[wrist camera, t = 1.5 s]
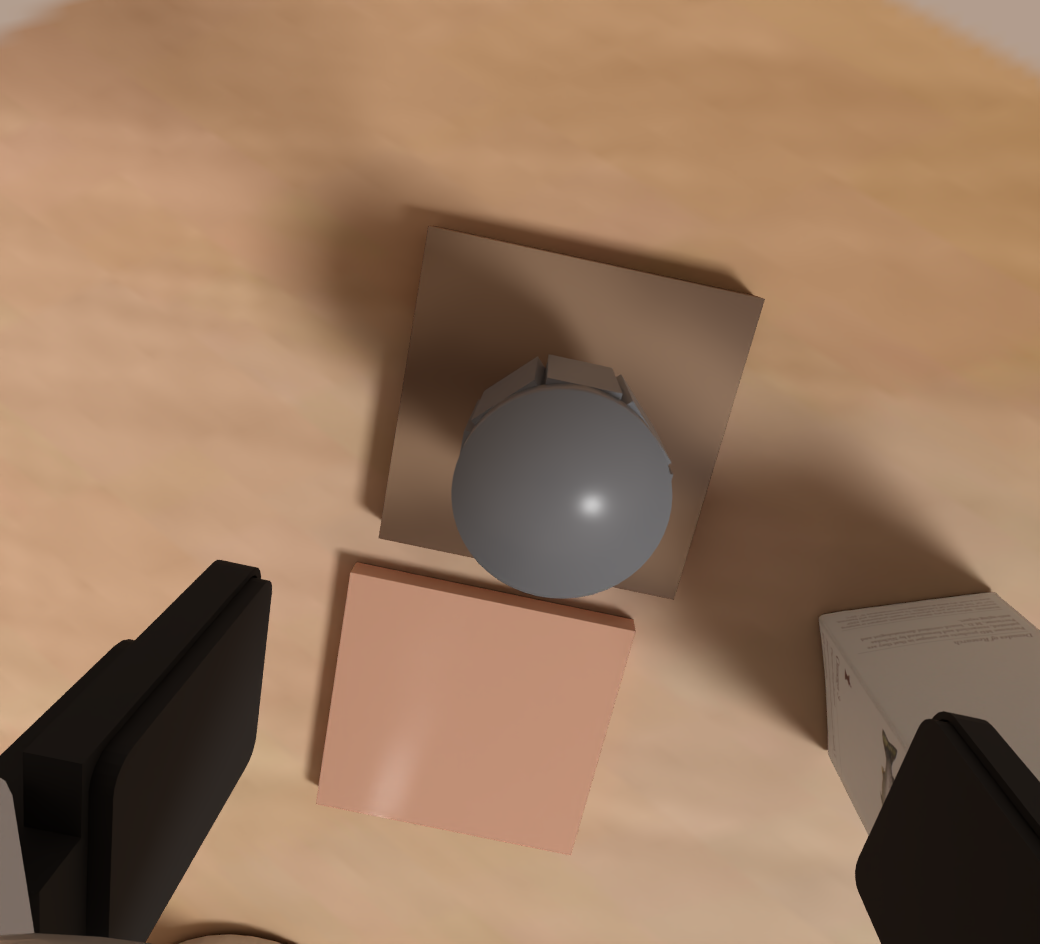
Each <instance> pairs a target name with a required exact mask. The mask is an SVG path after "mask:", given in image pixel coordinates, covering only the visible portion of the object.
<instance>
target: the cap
mask: <svg viewBox="0 0 1040 944" xmlns="http://www.w3.org/2000/svg"><path fill="white" fill-rule="evenodd" d="M669 464H671V460H670V458H669V456H668V454H667V452H666V450H665V448H664V446H663V444H662V442H661V440H660V438H659V436H658V434H657V432H656V430H655V428H654V426H653V425H652V423H651V421H650V420H649V418H648V417H647V415H646V413H645V412H644V410H643V408H642V407H641V405H640V404H639V402H638V400H637V399H636V397H635V396H634V394H633V392H632V391H631V389H630V388H629V386H628V384H627V383H626V381H625V379H624V378H623V376H622V375H621V374H620V375H619V376H617V377H616V376H615V374H614V371H613V369H612V368H611V367H606V366H601V365H597V364H592V363H587V362H583V361H578V360H573V359H569V358H564V357H559V356H555V355H550V354H549V355H548V360H547V364H546V368H545V367H544V365H543V363H542V362H541V360H540V359H539V357H538V356H537V357H536V358H534V359H533V360H531V361H530V362H528V363H527V364H525V365H523V366H522V367H520V368H519V369H517V370H516V371H514V372H513V373H511V374H510V375H508V376H506V377H505V378H503V379H502V380H500V381H499V382H497V383H496V384H494V385H492V386H491V387H489V388H488V389H486V390H485V391H484V392H483V395H482V397H481V399H480V400H478V401H477V403H476V406H475V408H474V410H473V412H472V414H471V417H470V419H469V421H468V423H467V425H466V428H465V430H464V434H463V439H462V444H461V450H460V455H459V458H458V461H457V463H456V467H455V470H454V474H453V480H452V489H451V500H452V509H453V515H454V519H455V522H456V526H457V529H458V531H459V534H460V536H461V538H462V540H463V542H464V544H465V545H466V547H467V549H468V550H469V552H470V553H471V554H472V556H473V557H474V558H475V559H476V561H477V562H478V563H479V564H480V565H481V566H482V567H483V568H484V569H485V570H486V571H488V572H489V573H490V574H491V575H493V576H494V577H495V578H497V579H498V580H500V581H501V582H503V583H505V584H507V585H508V586H510V587H512V588H515V589H517V590H520V591H522V592H525V593H528V594H532V595H536V596H541V597H547V598H577V597H583V596H588V595H592V594H595V593H598V592H601V591H604V590H607V589H609V588H611V587H613V586H615V585H617V584H619V583H621V582H622V581H624V580H625V579H627V578H628V577H630V576H631V575H632V574H633V573H635V572H636V571H637V570H638V569H639V568H641V567H642V565H643V564H644V563H645V562H646V561H647V560H648V559H649V558H650V557H651V555H652V554H653V552H654V551H655V549H656V548H657V547H658V545H659V543H660V541H661V539H662V537H663V535H664V533H665V530H666V527H667V525H668V522H669V517H670V513H671V507H672V482H671V481H672V478H673V473H672V471H671V469H670V467H669Z"/></svg>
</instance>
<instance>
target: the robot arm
mask: <svg viewBox="0 0 1040 944" xmlns="http://www.w3.org/2000/svg"><path fill="white" fill-rule="evenodd" d="M271 595H272V584H271V582H270V581H268V580H263V579H261V573H260V570H259V568H256V567H252V566H247V565H242V564H237V563H232V562H228V561H223V560H216V561H215V562H213V563H212V564H211V565H210V566H209V567H208V568H207V569H206V570H205V571H204V572H203V573H202V574H201V575H200V576H199V577H198V578H197V579H196V580H195V581H194V582H193V583H192V584H191V585H190V586H189V587H188V588H187V589H186V590H185V591H184V592H183V593H182V594H181V595H180V596H179V597H178V598H177V599H176V600H175V601H174V602H173V603H172V604H171V605H170V606H169V607H168V608H167V609H166V610H165V611H164V612H163V613H162V614H161V615H160V616H159V617H158V618H157V619H156V620H155V621H154V622H153V623H152V624H151V625H150V626H149V627H148V628H147V629H146V630H145V631H144V632H143V633H142V634H141V635H140V636H139V637H138V638H137V639H136V640H131V639H128V640H123V641H121V642H120V643H118V644H117V645H115V646H114V647H113V648H112V649H111V650H110V651H109V652H108V653H107V654H106V655H105V656H103V657H102V658H101V659H100V660H99V661H98V662H97V663H96V664H95V665H94V666H93V667H92V668H91V669H90V670H89V671H88V672H87V673H86V674H85V675H84V676H83V677H82V678H81V679H80V680H78V681H77V682H76V683H75V684H74V685H73V686H72V687H71V688H70V689H69V690H68V691H67V692H66V693H65V694H64V695H63V696H62V697H61V698H60V699H59V700H58V701H57V702H56V703H54V704H53V705H52V706H51V707H50V708H49V709H48V710H47V711H46V712H45V713H44V714H43V715H42V716H41V717H40V718H39V719H38V720H37V721H36V722H35V723H34V724H33V725H32V726H31V727H29V728H28V729H27V730H26V731H25V732H24V733H23V734H22V735H21V736H20V737H19V738H18V739H17V740H16V741H15V742H14V743H13V744H12V745H11V746H10V747H9V748H8V749H7V750H5V751H4V752H3V753H2V754H1V755H0V944H150V943H145V942H146V940H147V939H148V937H149V935H150V933H151V932H152V930H153V928H154V926H155V925H156V923H157V921H158V919H159V918H160V916H161V914H162V912H163V911H164V909H165V907H166V906H167V904H168V902H169V900H170V899H171V897H172V895H173V893H174V892H175V890H176V888H177V886H178V885H179V883H180V881H181V879H182V878H183V876H184V874H185V872H186V871H187V869H188V867H189V865H190V864H191V862H192V860H193V858H194V857H195V855H196V853H197V852H198V850H199V848H200V846H201V845H202V843H203V841H204V839H205V838H206V836H207V834H208V832H209V831H210V829H211V827H212V825H213V824H214V822H215V820H216V818H217V817H218V815H219V813H220V811H221V810H222V808H223V806H224V805H225V803H226V801H227V799H228V798H229V796H230V794H231V792H232V791H233V789H234V787H235V785H236V784H237V782H238V780H239V778H240V777H241V775H242V773H243V771H244V770H245V768H246V766H247V764H248V762H249V760H250V757H251V755H252V752H253V749H254V745H255V740H256V733H257V724H258V715H259V706H260V696H261V687H262V678H263V669H264V659H265V650H266V641H267V632H268V622H269V613H270V604H271ZM855 879H856V886H857V889H858V892H859V894H860V896H861V899H862V901H863V903H864V906H865V908H866V910H867V912H868V915H869V917H870V919H871V921H872V924H873V926H874V928H875V931H876V933H877V935H878V937H879V940H880V942H881V944H1040V781H1039V780H1038V779H1037V778H1036V777H1035V775H1034V774H1033V773H1032V772H1031V771H1030V770H1029V768H1028V767H1027V766H1026V765H1025V764H1024V762H1023V761H1022V760H1021V759H1020V758H1019V757H1018V755H1017V754H1016V753H1015V752H1014V751H1013V749H1012V748H1011V747H1010V746H1009V745H1008V744H1007V742H1006V741H1005V740H1004V739H1003V738H1002V736H1001V735H1000V734H999V733H998V732H997V731H996V729H995V728H994V727H993V726H992V725H991V724H990V723H989V722H988V721H986V720H983V719H979V718H974V717H969V716H965V715H960V714H955V713H950V712H946V711H943V712H938V713H937V714H936V715H935V716H933V718H932V719H925V720H924V721H923V722H922V723H921V724H920V726H919V727H918V729H917V732H916V734H915V736H914V738H913V740H912V742H911V745H910V747H909V749H908V751H907V753H906V756H905V758H904V760H903V762H902V764H901V766H900V769H899V771H898V773H897V775H896V777H895V780H894V782H893V784H892V786H891V788H890V790H889V793H888V795H887V797H886V799H885V801H884V804H883V806H882V808H881V810H880V812H879V814H878V817H877V819H876V821H875V823H874V825H873V828H872V830H871V832H870V834H869V836H868V838H867V841H866V843H865V845H864V847H863V849H862V852H861V854H860V856H859V858H858V861H857V864H856V870H855ZM179 944H281V943H279V942H276V941H272V940H268V939H263V938H259V937H255V936H245V935H234V934H226V935H210V936H204V937H200V938H195V939H191V940H186V941H184V942H182V943H179Z"/></svg>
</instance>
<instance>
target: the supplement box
mask: <svg viewBox="0 0 1040 944" xmlns="http://www.w3.org/2000/svg"><path fill="white" fill-rule="evenodd" d="M819 625H820V633H821V641H822V650H823V660H824V670H825V685H826V704H827V725H828V755H829V757H830V759H831V761H832V763H833V765H834V767H835V769H836V771H837V773H838V775H839V777H840V779H841V781H842V783H843V785H844V787H845V789H846V791H847V793H848V795H849V797H850V799H851V801H852V803H853V805H854V807H855V810H856V812H857V813H858V815H859V817H860V819H861V821H862V823H863V825H864V827H865V829H866V831H867V833H868V835H869V834H870V832H871V830H872V828H873V825H874V823H875V821H876V819H877V817H878V814H879V812H880V810H881V808H882V806H883V804H884V801H885V799H886V797H887V795H888V793H889V790H890V788H891V786H892V784H893V782H894V780H895V777H896V775H897V773H898V771H899V769H900V766H901V764H902V762H903V760H904V758H905V756H906V753H907V751H908V749H909V747H910V745H911V742H912V740H913V738H914V736H915V734H916V732H917V729H918V727H919V726H920V724H921V723H922V722H923V721H924V720H925V719H932V718H933V716H935V715H936V714H937V713H938V712H943V711H946V712H950V713H955V714H960V715H965V716H969V717H974V718H979V719H983V720H986V721H988V722H989V723H990V724H991V725H992V726H993V727H994V728H995V729H996V731H997V732H998V733H999V734H1000V735H1001V736H1002V738H1003V739H1004V740H1005V741H1006V742H1007V744H1008V745H1009V746H1010V747H1011V748H1012V749H1013V751H1014V752H1015V753H1016V754H1017V755H1018V757H1019V758H1020V759H1021V760H1022V761H1023V762H1024V764H1025V765H1026V766H1027V767H1028V768H1029V770H1030V771H1031V772H1032V773H1033V774H1034V775H1035V777H1036V778H1037V779H1038V780H1039V781H1040V630H1039V629H1037V628H1036V627H1035V626H1034V625H1033V624H1031V623H1030V622H1029V621H1028V620H1027V619H1026V618H1024V617H1023V616H1022V615H1021V614H1020V613H1019V612H1017V611H1016V610H1015V609H1014V608H1013V607H1011V606H1010V605H1009V604H1008V603H1007V602H1005V601H1004V600H1003V599H1002V598H1001V597H999V595H998V594H997V593H995V592H989V593H979V594H972V595H962V596H955V597H948V598H940V599H932V600H923V601H917V602H909V603H900V604H892V605H885V606H879V607H870V608H863V609H856V610H847V611H841V612H834V613H829V614H824V615H821V616H820V617H819Z"/></svg>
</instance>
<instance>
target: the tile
mask: <svg viewBox="0 0 1040 944" xmlns="http://www.w3.org/2000/svg"><path fill="white" fill-rule="evenodd" d="M635 632H636V631H635V626H634V621H633V619H628V618H623V617H619V616H614V615H609V614H604V613H599V612H594V611H590V610H585V609H580V608H575V607H570V606H566V605H561V604H556V603H551V602H546V601H541V600H537V599H532V598H527V597H522V596H517V595H513V594H508V593H503V592H498V591H493V590H488V589H484V588H479V587H474V586H469V585H464V584H460V583H455V582H450V581H445V580H440V579H435V578H431V577H426V576H421V575H416V574H411V573H407V572H402V571H397V570H392V569H387V568H382V567H378V566H373V565H368V564H363V563H358V562H356V564H355V566H354V567H353V569H352V571H351V572H350V579H349V585H348V592H347V599H346V605H345V612H344V619H343V626H342V632H341V639H340V646H339V652H338V659H337V666H336V673H335V679H334V686H333V693H332V699H331V706H330V713H329V720H328V726H327V733H326V740H325V746H324V753H323V760H322V767H321V773H320V780H319V787H318V793H317V800H316V804H318V805H323V806H328V807H333V808H338V809H343V810H348V811H353V812H358V813H363V814H368V815H373V816H378V817H383V818H388V819H393V820H398V821H403V822H408V823H413V824H418V825H422V826H427V827H432V828H437V829H442V830H447V831H452V832H457V833H462V834H467V835H472V836H477V837H482V838H487V839H492V840H497V841H502V842H507V843H512V844H517V845H522V846H527V847H532V848H537V849H542V850H547V851H552V852H557V853H562V854H567V855H571V853H572V850H573V846H574V843H575V839H576V836H577V833H578V829H579V826H580V822H581V819H582V815H583V812H584V808H585V805H586V801H587V798H588V794H589V791H590V788H591V784H592V781H593V777H594V774H595V770H596V767H597V763H598V760H599V756H600V753H601V750H602V746H603V743H604V739H605V736H606V732H607V729H608V725H609V722H610V718H611V715H612V711H613V708H614V705H615V701H616V698H617V694H618V691H619V687H620V684H621V680H622V677H623V673H624V670H625V667H626V663H627V660H628V656H629V653H630V649H631V646H632V642H633V639H634V635H635Z"/></svg>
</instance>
